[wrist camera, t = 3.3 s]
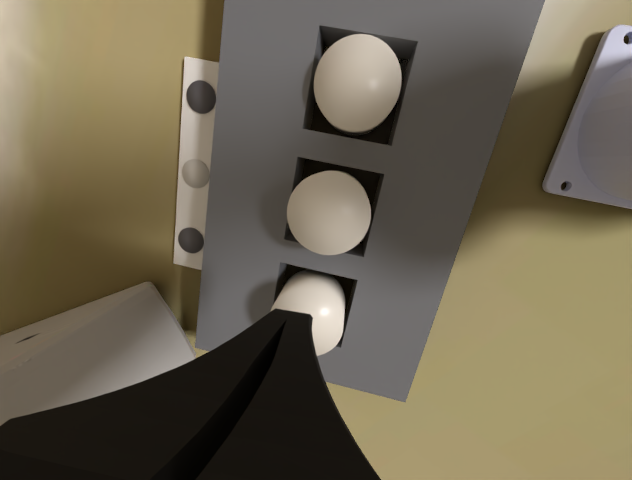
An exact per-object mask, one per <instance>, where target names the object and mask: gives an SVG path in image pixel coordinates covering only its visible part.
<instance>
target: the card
mask: <svg viewBox="0 0 632 480" xmlns="http://www.w3.org/2000/svg"><path fill="white" fill-rule="evenodd" d="M218 71H219V62H213V61H208V60H202V59H197V58H191V57H185V60H184V78H183V97H182V115H181V133H180V152H179V170H178V189H177V207H176V225H175V244H174V262H173V264H178V265H182V266H186V267H190V268H194V269H199V270H202V260H203V248H204V236H205V225H206V213H207V201H208V189H209V177H210V166H211V154H212V142H213V130H214V118H215V106H216V95H217V83H218Z"/></svg>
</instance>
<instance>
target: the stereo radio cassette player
mask: <svg viewBox="0 0 632 480" xmlns="http://www.w3.org/2000/svg"><path fill="white" fill-rule="evenodd" d="M195 356H196V353H195V351H194V349H193V348H192V346H191V344H190V342H189V340H188V338H187V336H186V334H185V333H184V331H183V329H182V327H181V326H180V324H179V322H178V321H177V319H176V317H175V316H174V314H173V312H172V311H171V309H170V308H169V307H168V305H167V304H166V302H165V301H164V299H163V298H162V297H161V295H160V293H159V292H158V290H157V289H156V287H155V286H154V284H153V283H152V282H144V283H141V284H138V285H136V286H133V287H130V288H128V289H125V290H122V291H119V292H117V293H114V294H111V295H109V296H106V297H103V298H101V299H98V300H95V301H92V302H90V303H87V304H84V305H82V306H79V307H76V308H74V309H71V310H68V311H65V312H63V313H60V314H57V315H55V316H52V317H49V318H47V319H44V320H41V321H38V322H36V323H33V324H30V325H28V326H25V327H22V328H20V329H17V330H14V331H11V332H9V333H6V334H3V335H1V336H0V426H1V425H2V424H3V423H5V422H6V421H8V420H9V419H11V418H16V417H20V416H24V415H29V414H32V413H36V412H40V411H44V410H48V409H52V408H56V407H60V406H64V405H68V404H72V403H76V402H79V401H83V400H86V399H90V398H93V397H97V396H100V395H103V394H106V393H110V392H113V391H116V390H119V389H122V388H125V387H128V386H131V385H134V384H136V383H139V382H142V381H145V380H147V379H149V378H152V377H154V376H157V375H159V374H162V373H164V372H167V371H169V370H172V369H174V368H177V367H179V366H181V365H184V364H186V363H188V362H190V361H192V360H194V359H196V357H195Z"/></svg>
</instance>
